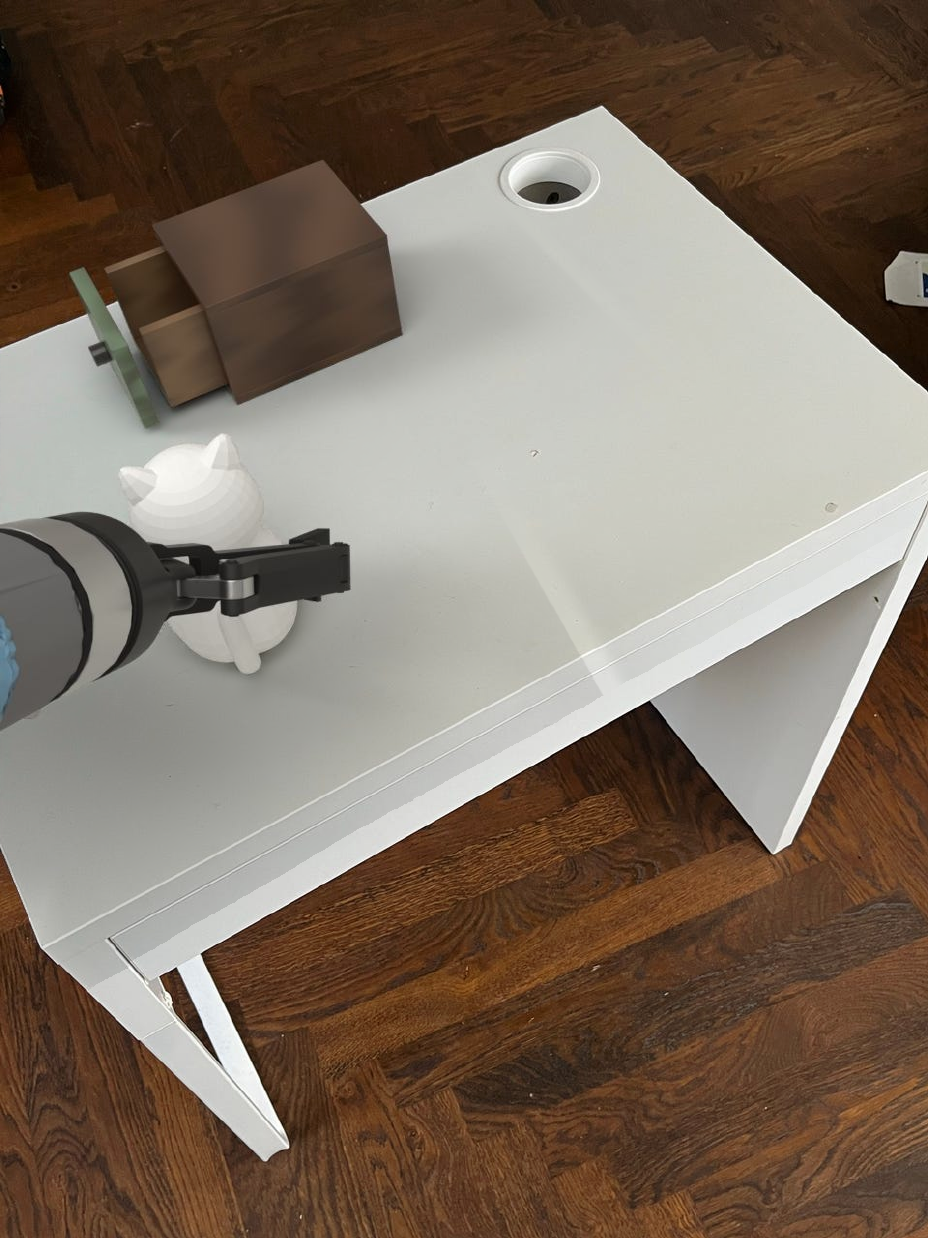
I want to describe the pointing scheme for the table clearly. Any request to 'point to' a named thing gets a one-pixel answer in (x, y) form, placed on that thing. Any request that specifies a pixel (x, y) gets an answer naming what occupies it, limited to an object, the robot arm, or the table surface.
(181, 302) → the drawer
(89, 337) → the table surface
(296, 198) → the cabinet
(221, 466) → the cat figurine
